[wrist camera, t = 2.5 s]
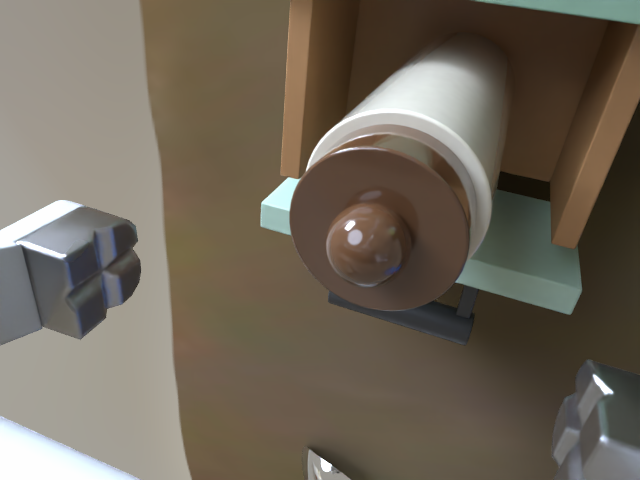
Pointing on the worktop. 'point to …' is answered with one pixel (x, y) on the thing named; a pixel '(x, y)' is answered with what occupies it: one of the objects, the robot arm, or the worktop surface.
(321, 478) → the silver spoon
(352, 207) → the canister with knobbed lid
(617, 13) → the cabinet
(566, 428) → the robot arm
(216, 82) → the worktop surface
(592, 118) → the drawer
